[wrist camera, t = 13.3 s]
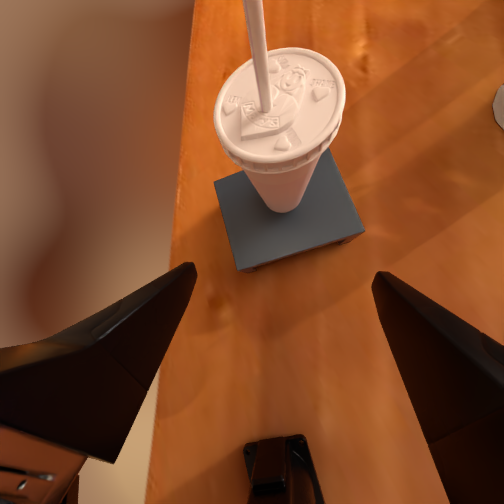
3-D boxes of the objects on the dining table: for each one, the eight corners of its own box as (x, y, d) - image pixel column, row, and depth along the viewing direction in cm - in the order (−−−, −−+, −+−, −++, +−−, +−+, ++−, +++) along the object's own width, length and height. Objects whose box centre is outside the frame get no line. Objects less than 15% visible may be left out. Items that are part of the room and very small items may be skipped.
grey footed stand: (349, 241, 21) (365, 230, 16) (247, 273, 22) (237, 271, 18) (318, 165, 23) (324, 137, 18) (226, 199, 24) (213, 181, 20)
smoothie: (237, 199, 19) (109, -4, 6) (280, 153, 19) (255, -171, 5) (285, 239, 17) (269, 89, 4) (331, 188, 17) (481, -147, 4)
